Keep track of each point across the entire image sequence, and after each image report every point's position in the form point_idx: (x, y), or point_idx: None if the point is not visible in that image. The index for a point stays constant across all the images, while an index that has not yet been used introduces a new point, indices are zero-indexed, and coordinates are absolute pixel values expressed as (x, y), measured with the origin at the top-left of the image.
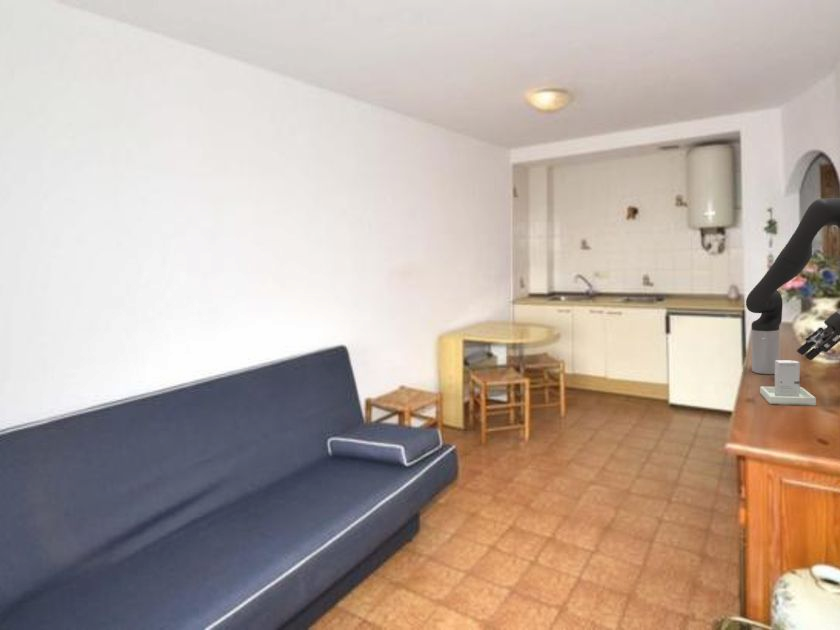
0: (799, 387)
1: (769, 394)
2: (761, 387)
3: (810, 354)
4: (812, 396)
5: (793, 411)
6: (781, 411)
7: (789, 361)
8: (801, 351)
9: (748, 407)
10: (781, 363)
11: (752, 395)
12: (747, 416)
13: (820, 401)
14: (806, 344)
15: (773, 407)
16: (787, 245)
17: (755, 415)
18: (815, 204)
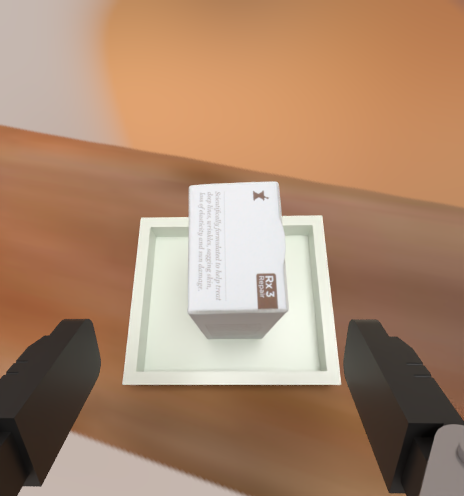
0: (331, 371)
1: (181, 221)
2: (302, 216)
3: (23, 357)
4: (149, 378)
5: (57, 282)
6: (60, 245)
7: (221, 252)
8: (356, 360)
9: (112, 164)
10: (189, 202)
11: (280, 200)
12: (11, 147)
13: (210, 427)
14: (398, 423)
15: (112, 232)
16: None
17: (20, 167)
18: None
